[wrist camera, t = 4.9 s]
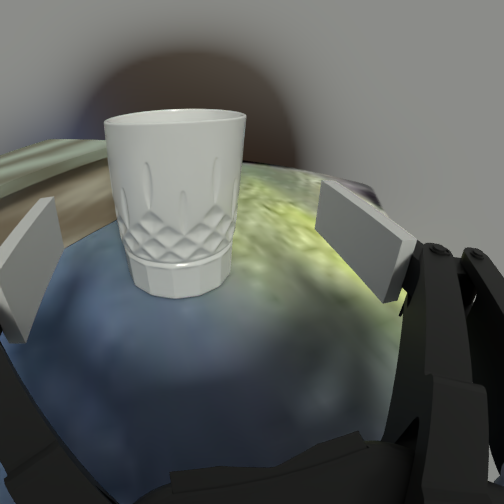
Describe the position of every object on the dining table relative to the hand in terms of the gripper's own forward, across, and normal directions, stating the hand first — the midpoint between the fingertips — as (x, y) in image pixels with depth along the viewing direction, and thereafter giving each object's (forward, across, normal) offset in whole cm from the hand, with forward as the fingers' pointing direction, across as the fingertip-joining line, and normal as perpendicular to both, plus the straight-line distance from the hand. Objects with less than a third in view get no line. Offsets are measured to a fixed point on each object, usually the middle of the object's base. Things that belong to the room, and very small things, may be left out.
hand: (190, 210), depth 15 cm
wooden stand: (+13, -14, -6) cm, 20 cm away
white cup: (+4, 0, -6) cm, 8 cm away
